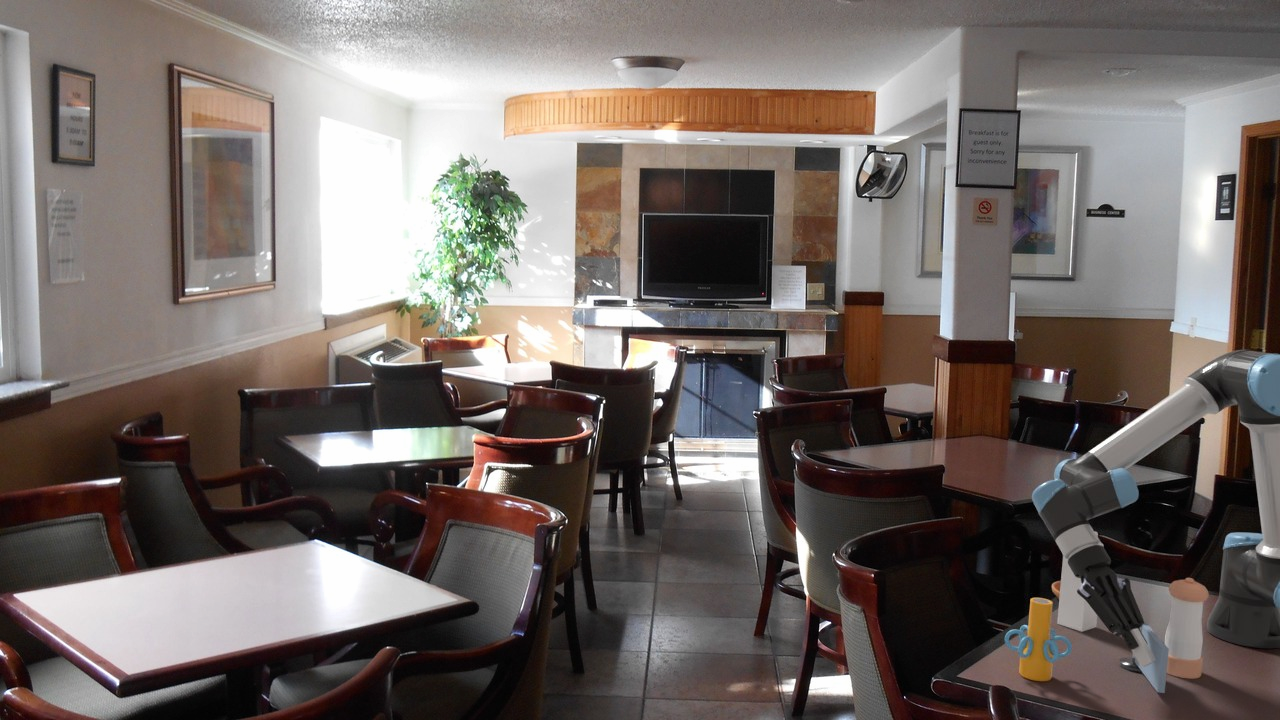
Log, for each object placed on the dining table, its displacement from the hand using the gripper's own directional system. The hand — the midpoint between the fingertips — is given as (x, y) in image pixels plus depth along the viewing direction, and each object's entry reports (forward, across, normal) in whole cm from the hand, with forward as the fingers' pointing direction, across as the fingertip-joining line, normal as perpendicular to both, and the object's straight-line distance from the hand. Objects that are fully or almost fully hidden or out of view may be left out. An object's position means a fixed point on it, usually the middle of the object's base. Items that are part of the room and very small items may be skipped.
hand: (1149, 663), depth 198 cm
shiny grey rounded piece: (-3, -10, -11) cm, 16 cm away
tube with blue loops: (-6, +13, -15) cm, 21 cm away
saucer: (-26, -36, -35) cm, 56 cm away
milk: (-18, -19, -27) cm, 38 cm away
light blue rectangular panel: (+1, -5, -5) cm, 7 cm away
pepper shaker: (+1, -17, -8) cm, 19 cm away
